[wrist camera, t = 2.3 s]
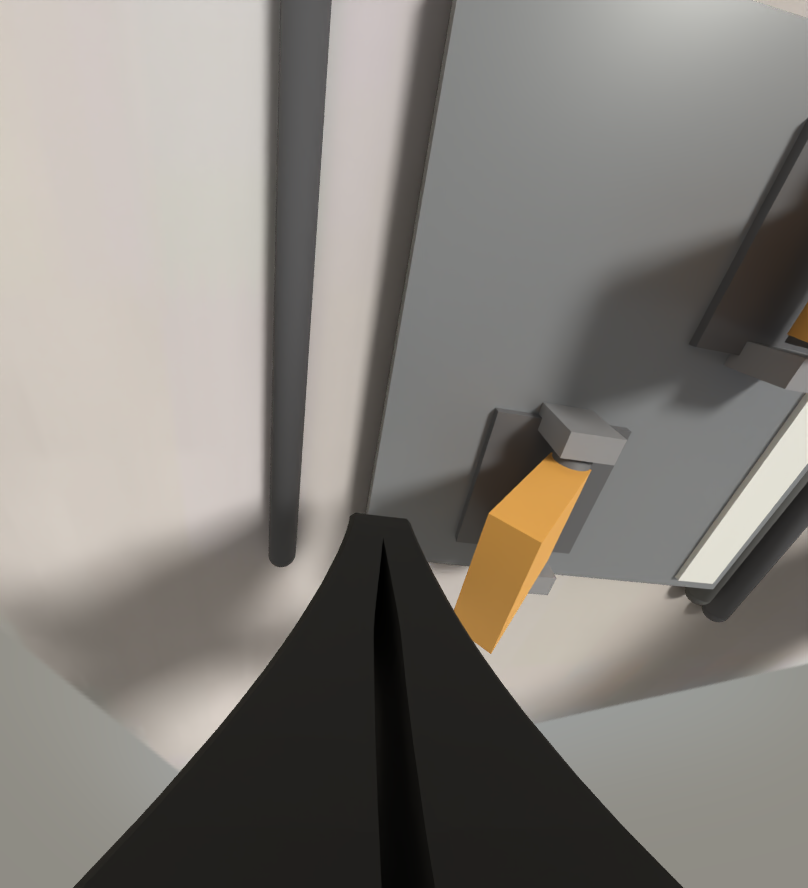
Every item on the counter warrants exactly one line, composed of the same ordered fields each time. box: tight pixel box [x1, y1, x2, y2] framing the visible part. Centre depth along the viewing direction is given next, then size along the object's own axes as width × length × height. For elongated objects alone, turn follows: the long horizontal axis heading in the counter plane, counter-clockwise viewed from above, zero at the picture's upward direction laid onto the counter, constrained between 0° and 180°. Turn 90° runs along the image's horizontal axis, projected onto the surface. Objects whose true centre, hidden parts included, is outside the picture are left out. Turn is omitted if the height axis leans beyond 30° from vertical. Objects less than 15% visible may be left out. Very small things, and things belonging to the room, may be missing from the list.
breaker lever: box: [454, 451, 593, 654], centre depth 11 cm, size 1×4×5 cm
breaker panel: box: [366, 0, 808, 595], centre depth 11 cm, size 15×16×3 cm
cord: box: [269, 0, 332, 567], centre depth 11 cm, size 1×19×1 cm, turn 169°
